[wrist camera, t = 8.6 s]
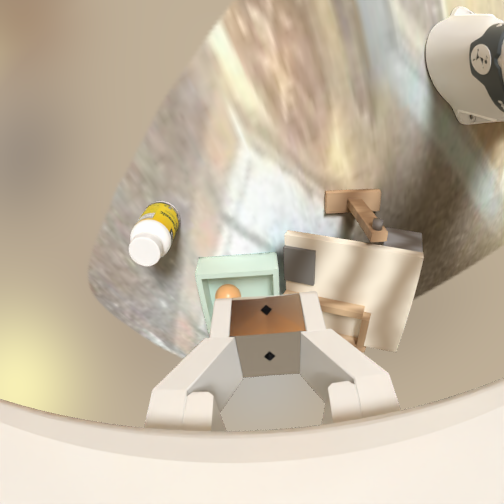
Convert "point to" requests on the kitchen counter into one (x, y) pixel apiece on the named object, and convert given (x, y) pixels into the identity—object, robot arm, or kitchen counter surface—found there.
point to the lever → (357, 282)
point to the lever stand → (359, 212)
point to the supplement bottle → (154, 233)
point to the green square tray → (236, 277)
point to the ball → (227, 292)
